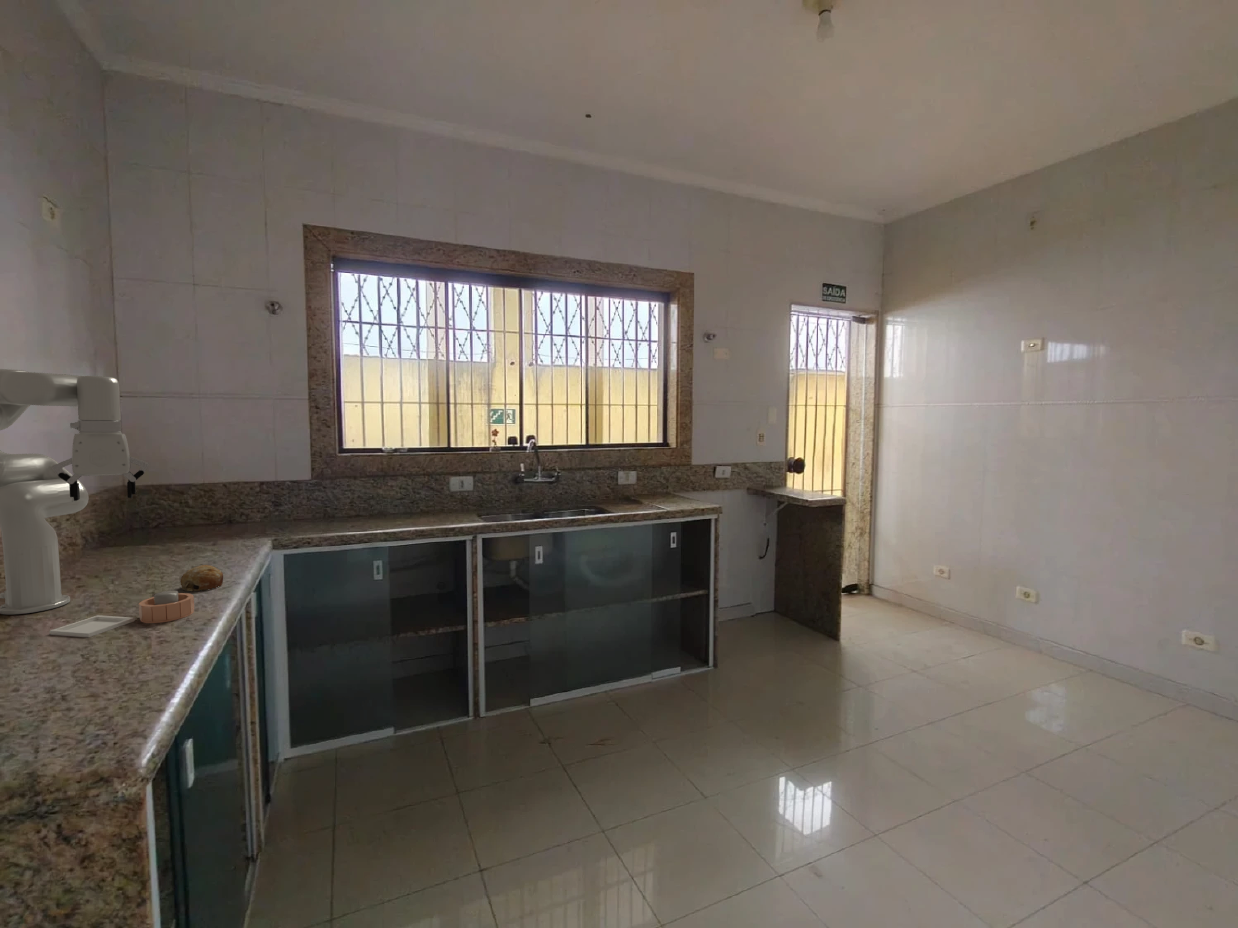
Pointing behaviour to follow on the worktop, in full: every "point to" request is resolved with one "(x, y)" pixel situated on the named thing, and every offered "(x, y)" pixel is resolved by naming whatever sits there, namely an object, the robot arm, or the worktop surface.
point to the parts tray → (92, 626)
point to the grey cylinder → (166, 597)
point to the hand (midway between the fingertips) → (104, 498)
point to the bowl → (166, 609)
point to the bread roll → (201, 578)
